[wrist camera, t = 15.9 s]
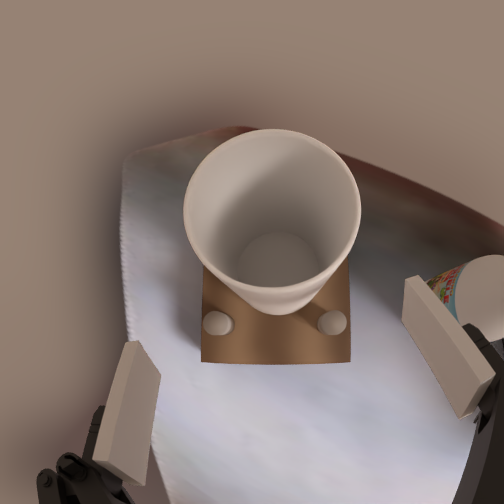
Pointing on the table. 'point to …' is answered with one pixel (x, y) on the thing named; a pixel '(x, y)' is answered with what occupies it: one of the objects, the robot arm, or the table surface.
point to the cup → (272, 216)
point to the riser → (276, 326)
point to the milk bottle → (475, 294)
